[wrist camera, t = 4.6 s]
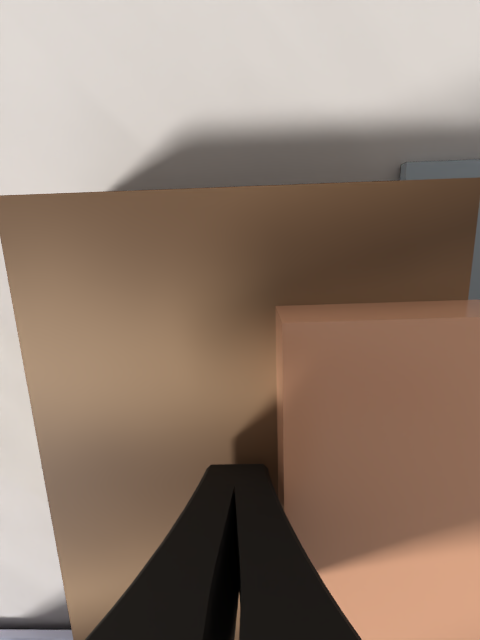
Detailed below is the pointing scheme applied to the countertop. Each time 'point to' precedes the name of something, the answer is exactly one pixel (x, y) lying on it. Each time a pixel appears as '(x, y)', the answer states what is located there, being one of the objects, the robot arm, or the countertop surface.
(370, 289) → the board
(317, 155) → the countertop surface
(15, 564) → the countertop surface
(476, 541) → the tile
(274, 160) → the countertop surface
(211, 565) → the robot arm
